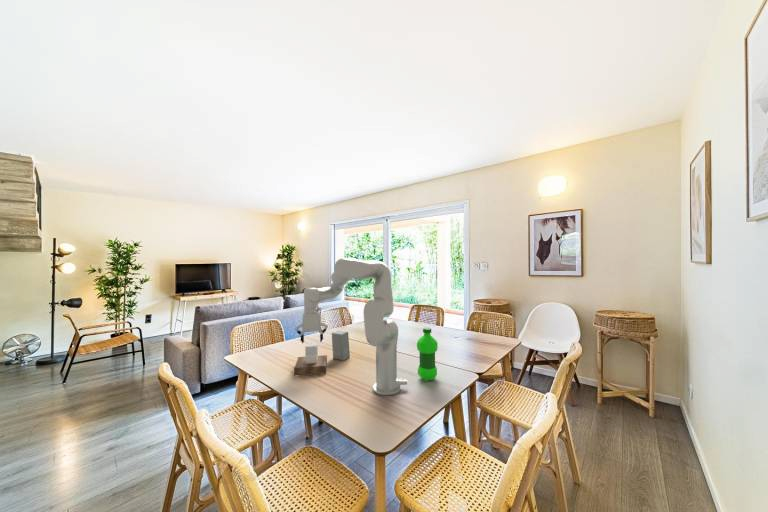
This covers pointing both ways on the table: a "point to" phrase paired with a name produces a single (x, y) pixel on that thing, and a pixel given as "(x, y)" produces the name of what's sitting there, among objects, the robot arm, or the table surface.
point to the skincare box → (340, 345)
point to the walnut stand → (310, 366)
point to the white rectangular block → (311, 353)
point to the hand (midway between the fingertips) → (312, 341)
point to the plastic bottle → (427, 355)
